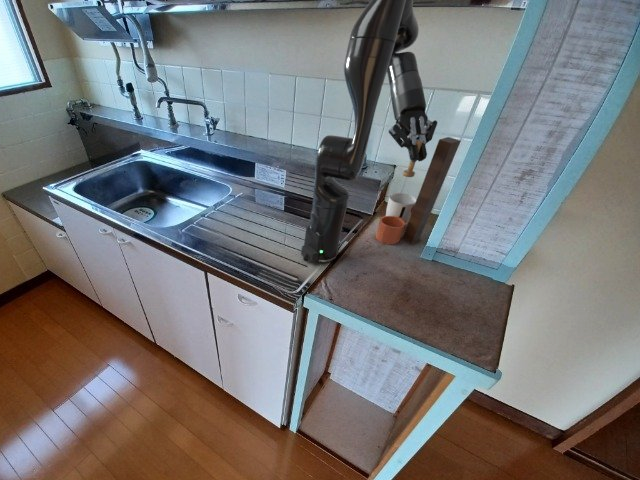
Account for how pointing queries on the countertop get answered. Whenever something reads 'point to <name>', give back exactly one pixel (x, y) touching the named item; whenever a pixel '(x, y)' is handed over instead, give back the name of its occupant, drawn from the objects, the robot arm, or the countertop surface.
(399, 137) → the robot arm
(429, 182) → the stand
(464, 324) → the countertop surface
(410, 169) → the stick
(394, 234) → the terracotta pot
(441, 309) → the countertop surface
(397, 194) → the cup
